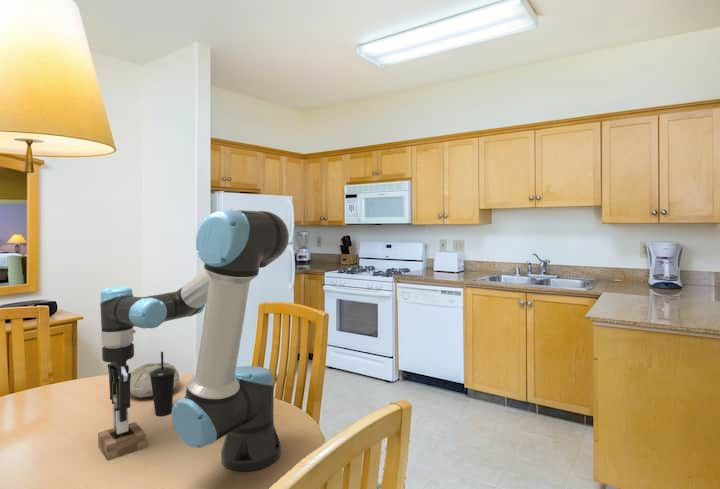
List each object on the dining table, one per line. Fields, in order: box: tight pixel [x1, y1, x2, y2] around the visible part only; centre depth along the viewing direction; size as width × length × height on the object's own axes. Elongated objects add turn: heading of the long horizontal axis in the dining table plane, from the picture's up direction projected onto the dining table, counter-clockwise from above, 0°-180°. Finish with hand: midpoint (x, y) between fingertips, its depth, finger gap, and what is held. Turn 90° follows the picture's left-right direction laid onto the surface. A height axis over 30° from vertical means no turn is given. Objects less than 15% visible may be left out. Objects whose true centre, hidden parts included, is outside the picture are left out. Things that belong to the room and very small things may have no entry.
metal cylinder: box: [113, 394, 128, 439], centre depth 119 cm, size 3×3×14 cm
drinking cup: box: [149, 351, 175, 417], centre depth 140 cm, size 8×8×20 cm
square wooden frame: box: [97, 421, 147, 461], centre depth 119 cm, size 9×9×4 cm
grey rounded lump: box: [129, 362, 180, 398], centre depth 157 cm, size 18×18×10 cm
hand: (120, 429), depth 119 cm, fingers closed on metal cylinder, 3 cm apart
